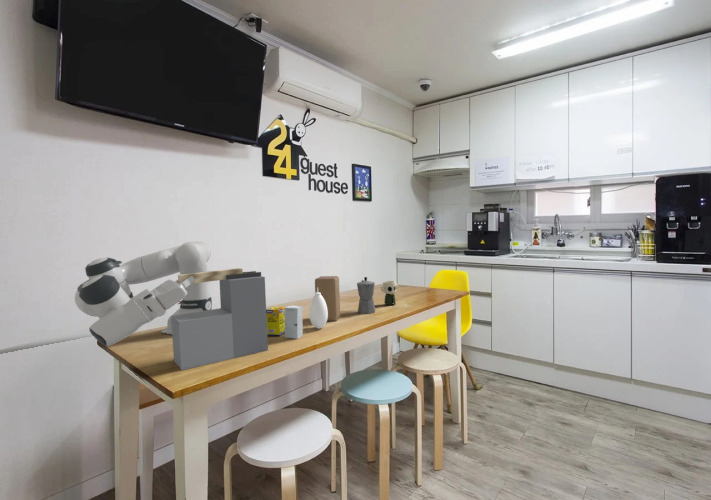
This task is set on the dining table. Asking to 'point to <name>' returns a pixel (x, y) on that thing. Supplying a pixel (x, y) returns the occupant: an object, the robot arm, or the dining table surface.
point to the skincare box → (293, 322)
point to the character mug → (389, 291)
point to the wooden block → (329, 294)
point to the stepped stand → (224, 324)
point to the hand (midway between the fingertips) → (191, 277)
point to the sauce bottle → (318, 311)
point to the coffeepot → (366, 296)
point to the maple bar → (210, 275)
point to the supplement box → (275, 321)
